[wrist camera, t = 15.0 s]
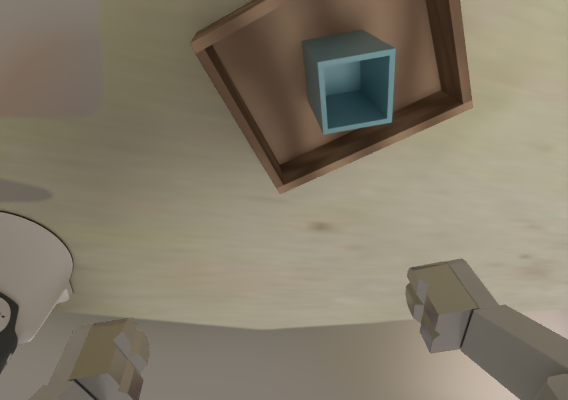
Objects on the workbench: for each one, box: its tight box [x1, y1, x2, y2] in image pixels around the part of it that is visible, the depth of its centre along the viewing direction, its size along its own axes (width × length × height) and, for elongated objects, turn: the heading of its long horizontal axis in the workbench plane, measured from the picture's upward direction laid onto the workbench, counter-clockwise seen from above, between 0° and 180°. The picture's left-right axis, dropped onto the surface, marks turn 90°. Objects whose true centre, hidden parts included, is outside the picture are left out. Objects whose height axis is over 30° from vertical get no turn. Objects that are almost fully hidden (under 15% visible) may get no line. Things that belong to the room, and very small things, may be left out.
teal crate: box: [302, 30, 396, 135], centre depth 28 cm, size 6×6×8 cm
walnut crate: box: [190, 0, 473, 194], centre depth 30 cm, size 20×16×5 cm
